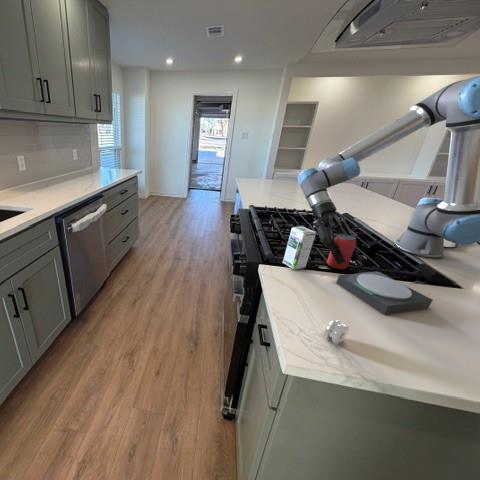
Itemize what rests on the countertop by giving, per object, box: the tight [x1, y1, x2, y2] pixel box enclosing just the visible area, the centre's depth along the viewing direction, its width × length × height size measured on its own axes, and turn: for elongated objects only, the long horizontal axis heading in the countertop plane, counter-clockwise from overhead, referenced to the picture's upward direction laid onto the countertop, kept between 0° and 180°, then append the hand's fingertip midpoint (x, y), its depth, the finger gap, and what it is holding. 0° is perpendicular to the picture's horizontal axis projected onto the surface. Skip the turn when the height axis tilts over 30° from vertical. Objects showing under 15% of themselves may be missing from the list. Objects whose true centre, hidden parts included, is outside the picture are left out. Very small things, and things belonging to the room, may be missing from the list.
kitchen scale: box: [336, 271, 434, 316], centre depth 78 cm, size 16×16×4 cm
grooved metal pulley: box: [323, 319, 350, 345], centre depth 60 cm, size 5×3×5 cm, turn 122°
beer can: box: [326, 234, 357, 270], centre depth 93 cm, size 7×7×12 cm
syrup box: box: [282, 226, 317, 271], centre depth 92 cm, size 6×6×14 cm
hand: (348, 261), depth 90 cm, fingers closed on beer can, 6 cm apart
